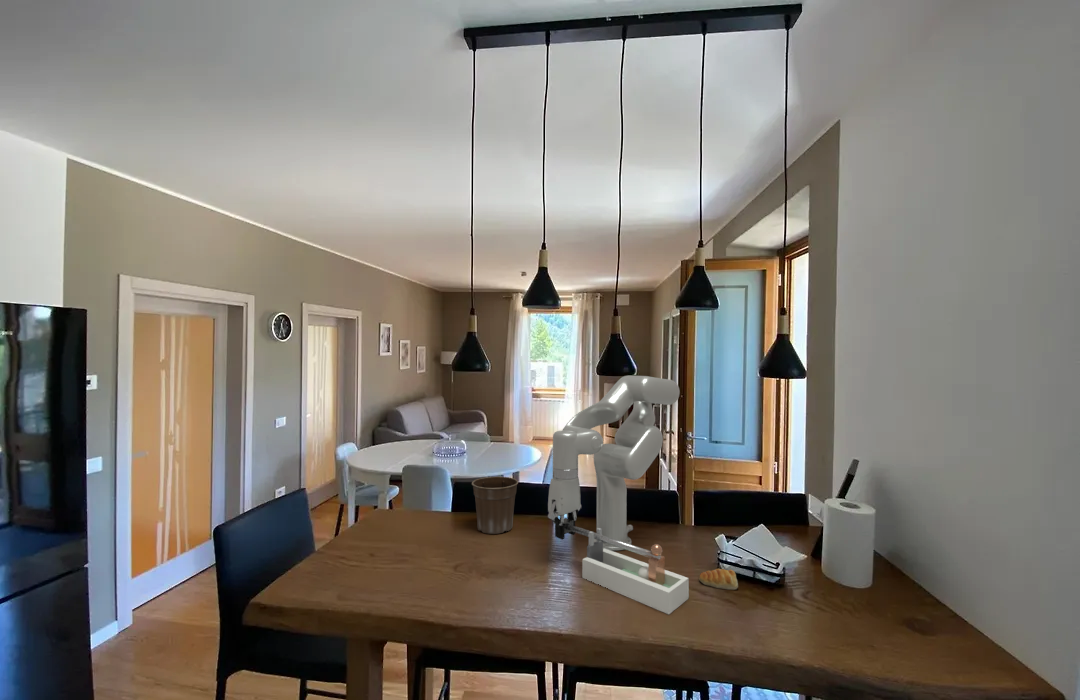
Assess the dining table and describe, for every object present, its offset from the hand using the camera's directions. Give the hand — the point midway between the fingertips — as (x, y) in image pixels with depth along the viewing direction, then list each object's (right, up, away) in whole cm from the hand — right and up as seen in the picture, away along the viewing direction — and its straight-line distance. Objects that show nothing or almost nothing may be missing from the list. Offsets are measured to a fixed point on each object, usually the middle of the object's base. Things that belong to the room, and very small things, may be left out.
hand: (565, 535), depth 135 cm
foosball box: (+17, -7, -16) cm, 24 cm away
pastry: (+40, -8, -14) cm, 43 cm away
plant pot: (-23, -8, +25) cm, 35 cm away
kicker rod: (+11, -4, -10) cm, 16 cm away
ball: (+20, -4, -19) cm, 28 cm away
